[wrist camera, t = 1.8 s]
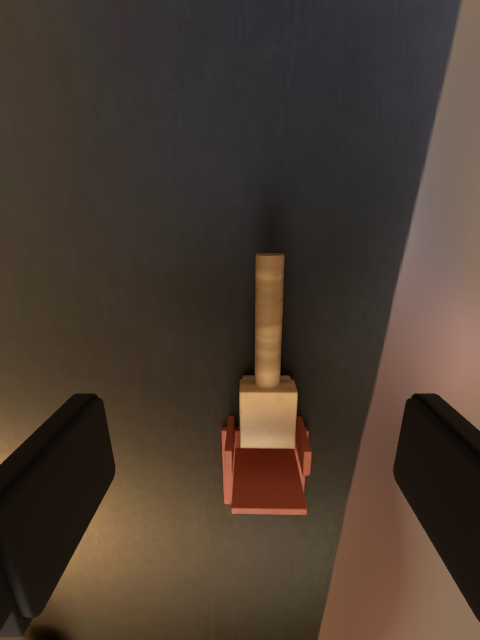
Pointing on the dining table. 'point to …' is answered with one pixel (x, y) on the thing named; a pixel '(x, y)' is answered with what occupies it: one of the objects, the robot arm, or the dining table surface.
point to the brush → (268, 367)
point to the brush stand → (265, 474)
